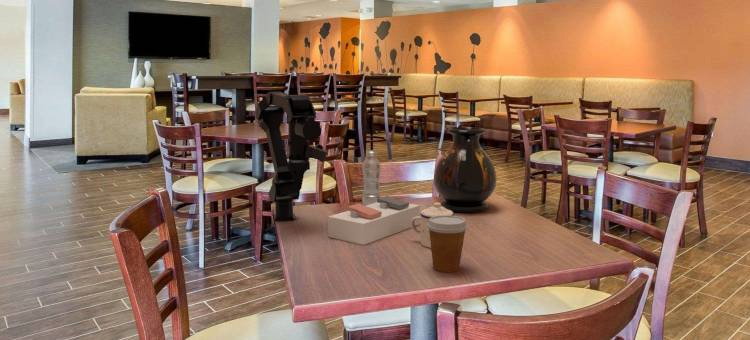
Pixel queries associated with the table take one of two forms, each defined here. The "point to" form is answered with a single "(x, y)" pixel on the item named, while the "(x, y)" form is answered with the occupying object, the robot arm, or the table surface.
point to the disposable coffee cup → (446, 241)
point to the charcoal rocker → (393, 202)
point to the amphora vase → (465, 173)
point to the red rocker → (365, 211)
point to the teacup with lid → (425, 216)
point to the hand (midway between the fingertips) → (299, 189)
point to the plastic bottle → (371, 178)
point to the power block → (372, 223)
